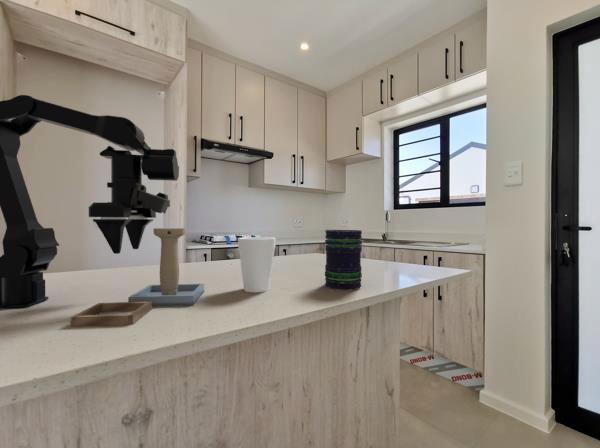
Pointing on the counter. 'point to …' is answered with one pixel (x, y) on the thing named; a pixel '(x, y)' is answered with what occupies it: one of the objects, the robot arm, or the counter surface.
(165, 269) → the handle
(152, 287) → the tray
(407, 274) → the counter surface
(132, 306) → the brown square frame
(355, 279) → the storage jar
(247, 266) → the foam cup
